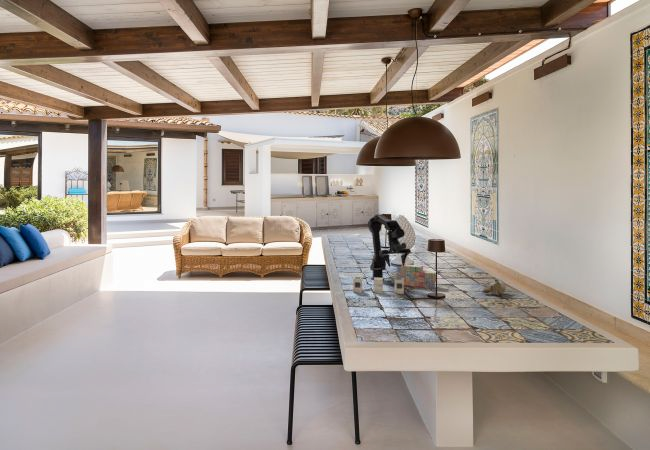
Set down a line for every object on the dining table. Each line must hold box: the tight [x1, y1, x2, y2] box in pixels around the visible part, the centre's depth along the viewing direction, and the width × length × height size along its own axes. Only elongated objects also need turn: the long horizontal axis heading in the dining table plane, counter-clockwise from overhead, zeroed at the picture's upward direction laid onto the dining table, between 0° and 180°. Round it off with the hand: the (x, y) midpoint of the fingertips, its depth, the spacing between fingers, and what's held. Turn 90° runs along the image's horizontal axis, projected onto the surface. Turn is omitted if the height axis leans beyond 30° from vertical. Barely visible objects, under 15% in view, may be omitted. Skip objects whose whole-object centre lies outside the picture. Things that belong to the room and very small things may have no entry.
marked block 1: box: [352, 276, 363, 294], centre depth 282 cm, size 5×5×8 cm
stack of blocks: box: [400, 263, 437, 289], centre depth 298 cm, size 21×6×12 cm, turn 62°
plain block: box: [373, 277, 384, 294], centre depth 281 cm, size 5×5×8 cm
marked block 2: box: [394, 277, 405, 295], centre depth 280 cm, size 5×5×8 cm
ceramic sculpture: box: [481, 279, 506, 296], centre depth 277 cm, size 11×9×15 cm
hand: (396, 266), depth 290 cm, fingers open, 9 cm apart
